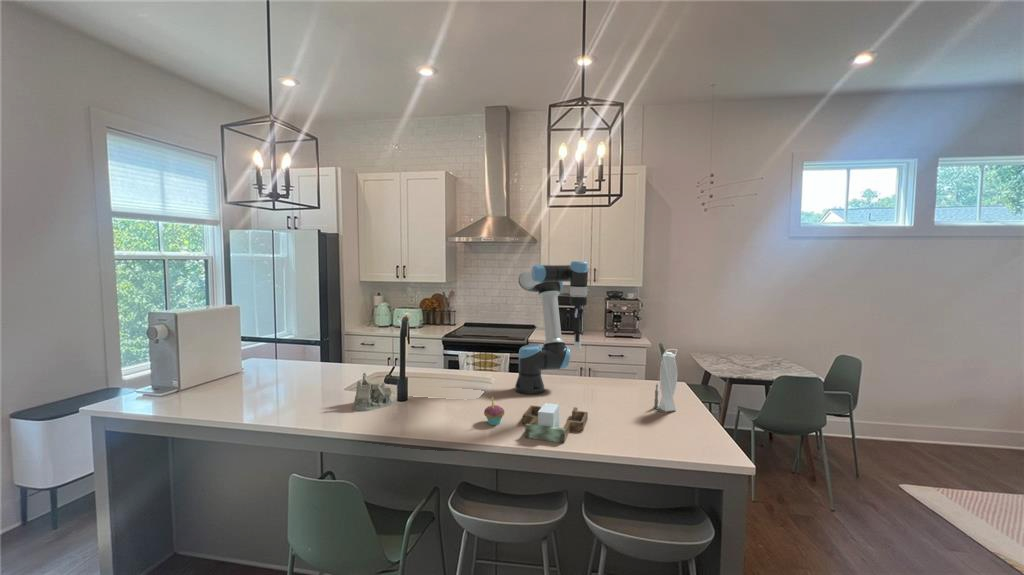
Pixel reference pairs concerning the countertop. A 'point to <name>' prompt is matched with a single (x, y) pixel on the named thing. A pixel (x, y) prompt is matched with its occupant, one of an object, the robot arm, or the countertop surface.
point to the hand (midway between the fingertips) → (577, 348)
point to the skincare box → (549, 415)
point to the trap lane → (552, 432)
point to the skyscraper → (667, 382)
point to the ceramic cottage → (371, 395)
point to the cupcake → (494, 414)
